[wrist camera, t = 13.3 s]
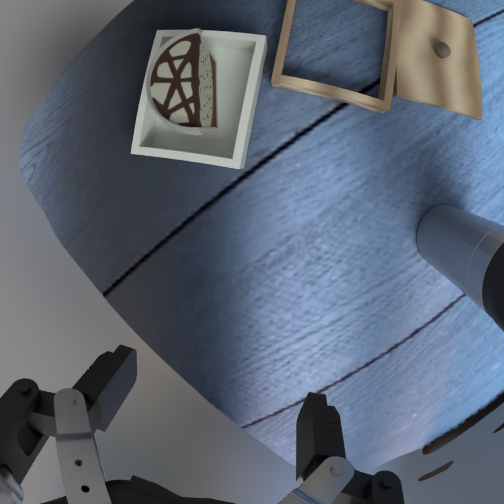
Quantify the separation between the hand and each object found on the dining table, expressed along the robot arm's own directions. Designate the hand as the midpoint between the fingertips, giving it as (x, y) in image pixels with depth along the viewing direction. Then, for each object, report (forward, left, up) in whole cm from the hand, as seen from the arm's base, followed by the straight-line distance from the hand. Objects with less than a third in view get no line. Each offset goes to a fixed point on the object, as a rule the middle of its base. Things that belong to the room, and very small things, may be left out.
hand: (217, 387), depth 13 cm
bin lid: (-20, -32, -30) cm, 48 cm away
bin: (+11, -16, -30) cm, 36 cm away
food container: (+12, -16, -29) cm, 36 cm away
